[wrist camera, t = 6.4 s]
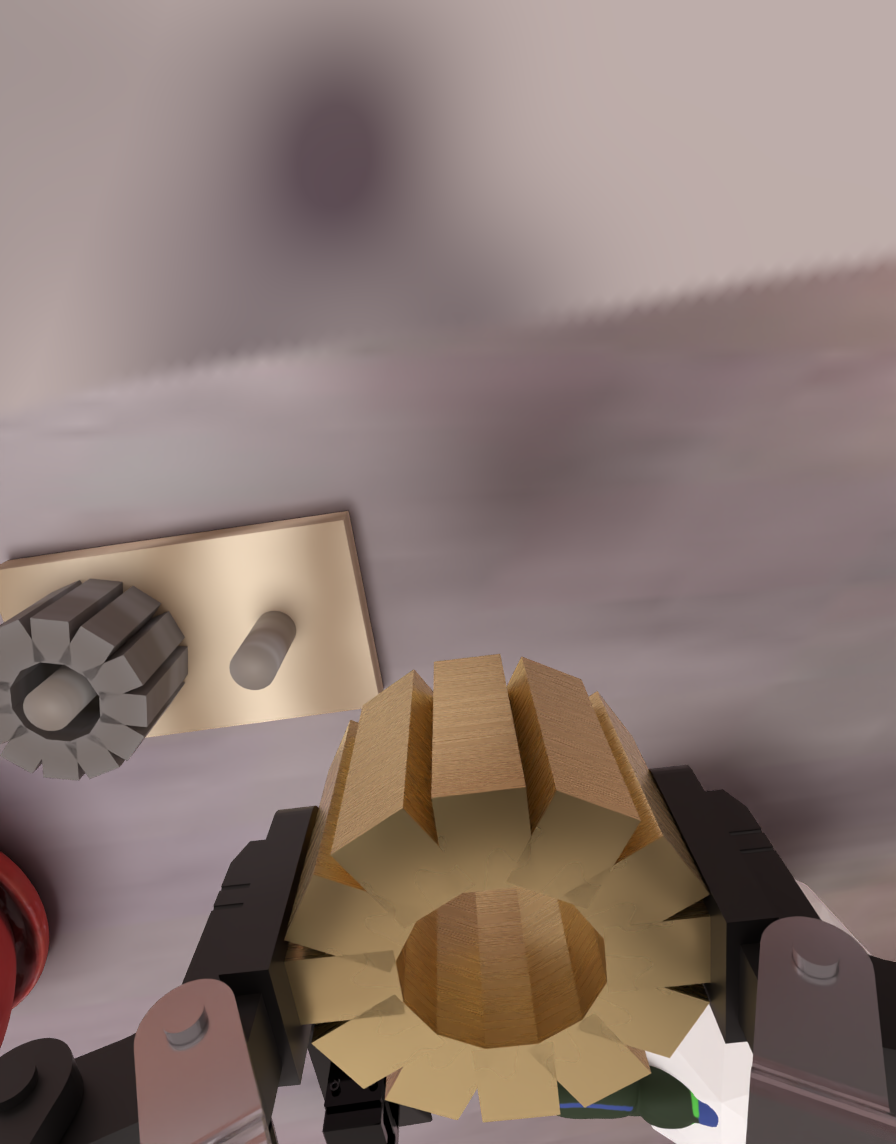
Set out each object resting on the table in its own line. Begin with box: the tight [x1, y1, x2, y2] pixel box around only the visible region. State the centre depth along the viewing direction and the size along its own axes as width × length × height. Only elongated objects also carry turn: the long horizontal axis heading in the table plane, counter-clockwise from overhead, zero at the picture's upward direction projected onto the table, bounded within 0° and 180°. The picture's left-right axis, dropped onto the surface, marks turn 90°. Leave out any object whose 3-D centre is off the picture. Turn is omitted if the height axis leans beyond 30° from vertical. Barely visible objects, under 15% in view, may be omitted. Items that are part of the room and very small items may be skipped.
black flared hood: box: [307, 1023, 432, 1144], centre depth 35 cm, size 12×7×5 cm, turn 10°
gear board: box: [0, 511, 384, 780], centre depth 25 cm, size 14×8×6 cm, turn 98°
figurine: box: [557, 880, 872, 1144], centre depth 26 cm, size 18×10×13 cm, turn 97°
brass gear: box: [284, 654, 710, 1122], centre depth 12 cm, size 6×6×4 cm
